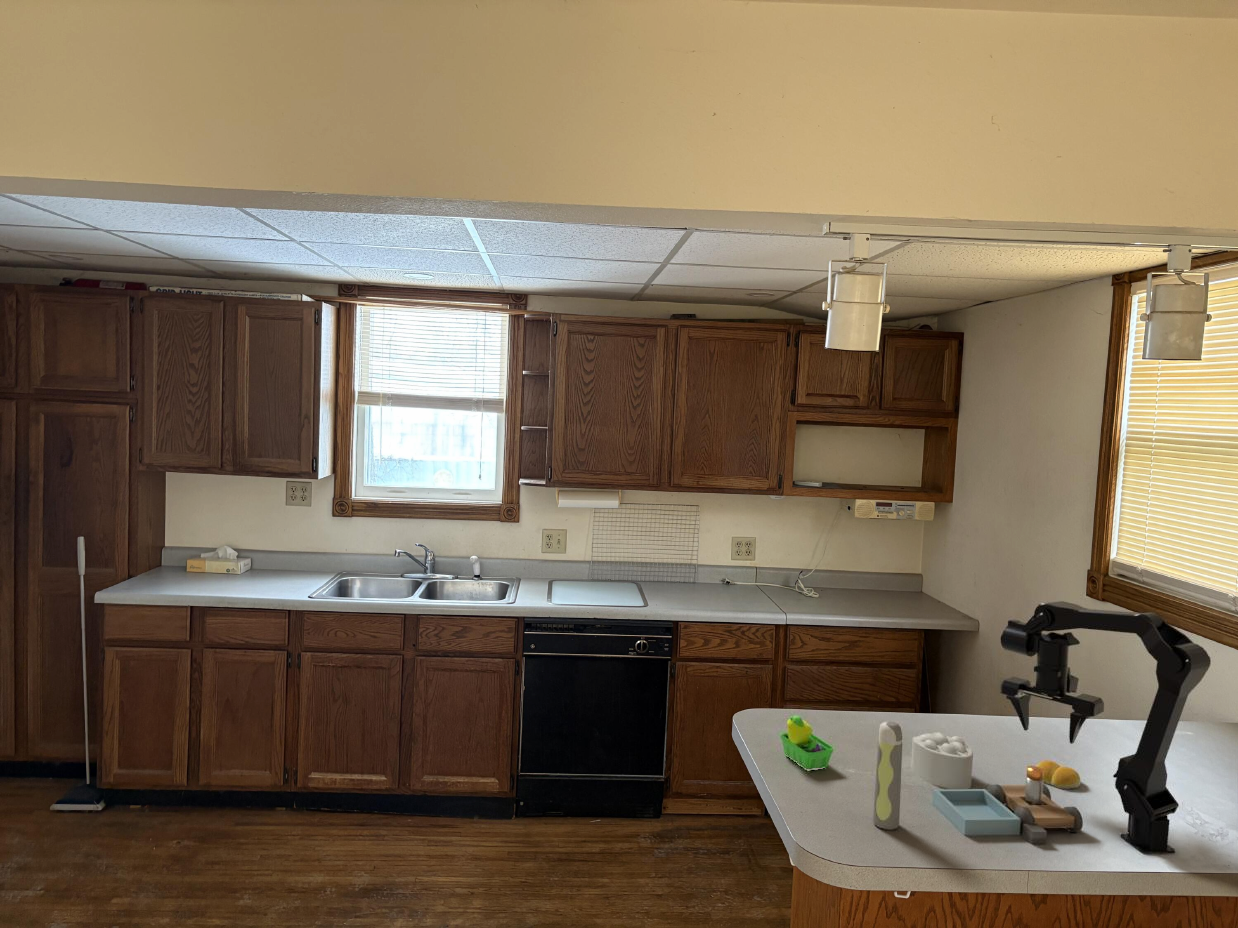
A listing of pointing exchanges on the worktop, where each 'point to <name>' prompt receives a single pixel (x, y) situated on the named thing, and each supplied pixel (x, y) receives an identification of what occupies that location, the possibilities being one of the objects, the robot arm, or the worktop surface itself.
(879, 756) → the grey and yellow cylinder
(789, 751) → the fruit basket
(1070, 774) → the bread roll
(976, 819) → the tray
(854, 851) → the worktop surface
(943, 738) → the lumpy-topped squat cylinder
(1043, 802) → the dolly
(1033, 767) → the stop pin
